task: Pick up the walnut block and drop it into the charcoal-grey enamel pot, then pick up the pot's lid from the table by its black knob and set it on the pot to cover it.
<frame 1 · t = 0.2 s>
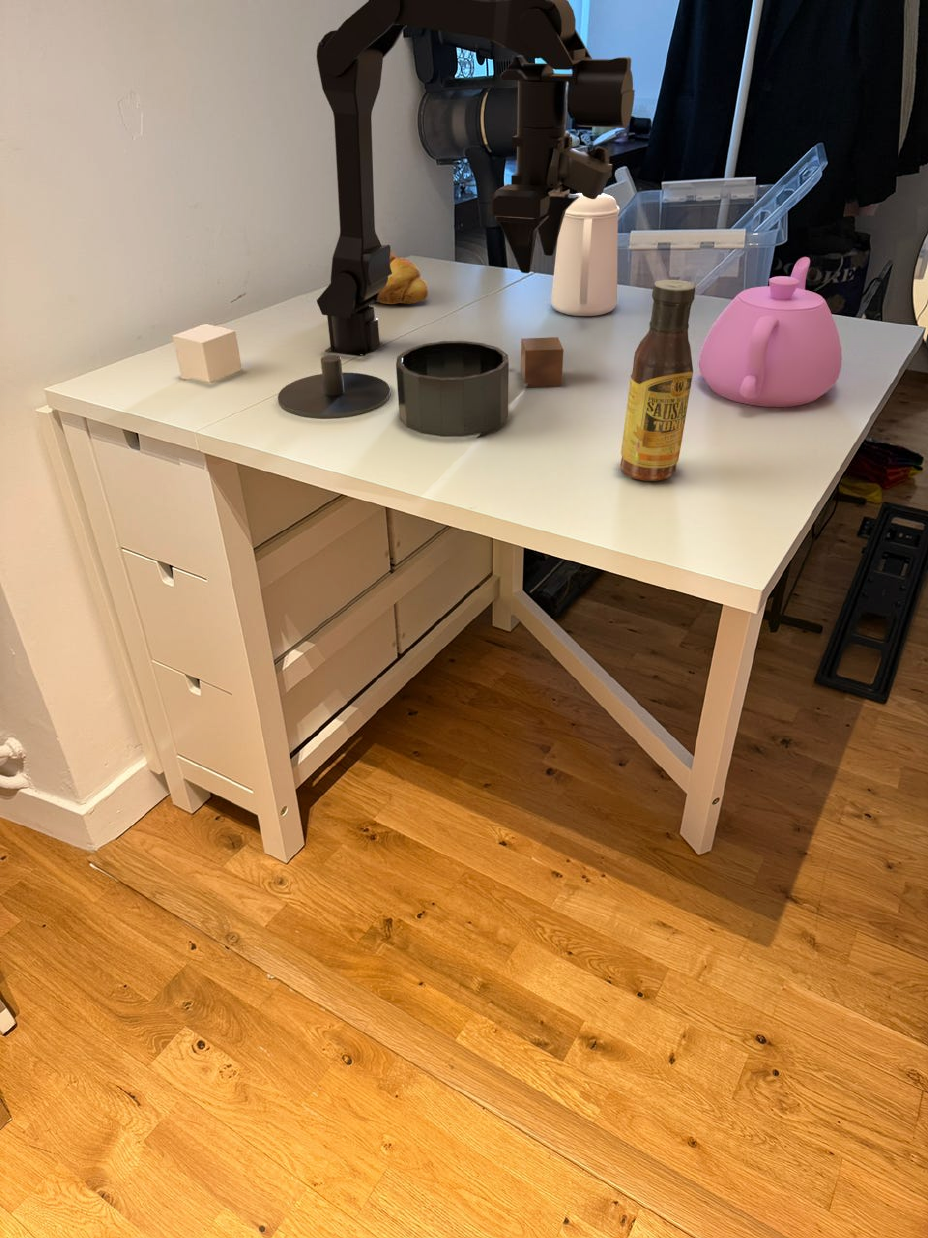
hand: (537, 263, 112), 15 cm above the table, tool pointing down, fingers open, 9 cm apart
pot: (454, 418, 109), on the table
sauce bottle: (648, 472, 96), on the table
teapot: (765, 384, 116), on the table
bread roll: (393, 301, 150), on the table
block: (540, 380, 118), on the table
beige cube: (212, 376, 122), on the table
lid: (334, 395, 114), point 1 cm above the table
coffeepot: (583, 308, 145), on the table
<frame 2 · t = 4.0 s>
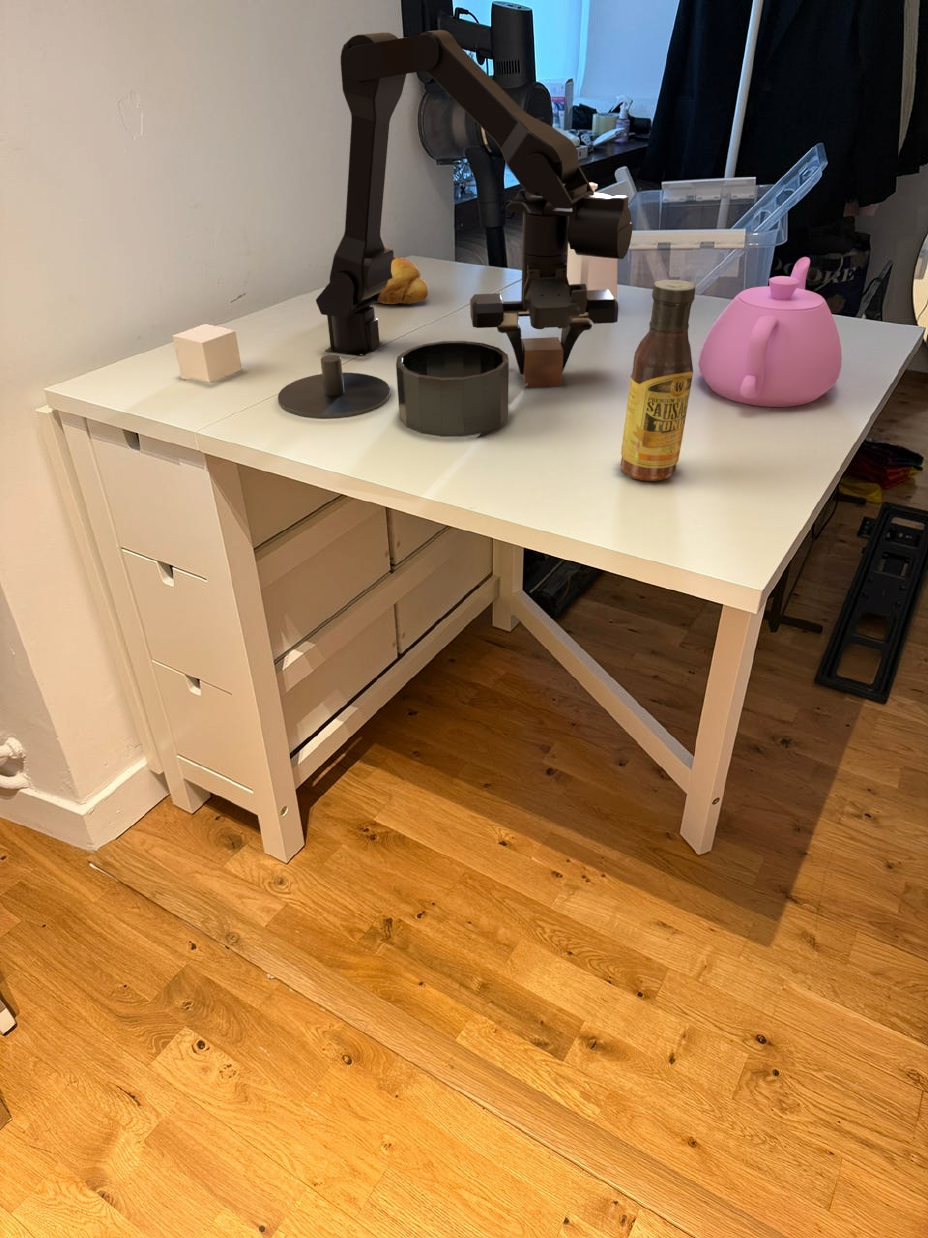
hand: (540, 372, 118), 1 cm above the table, tool pointing down, fingers closed on block, 5 cm apart
block: (540, 380, 118), on the table, touching gripper
everything else where it was.
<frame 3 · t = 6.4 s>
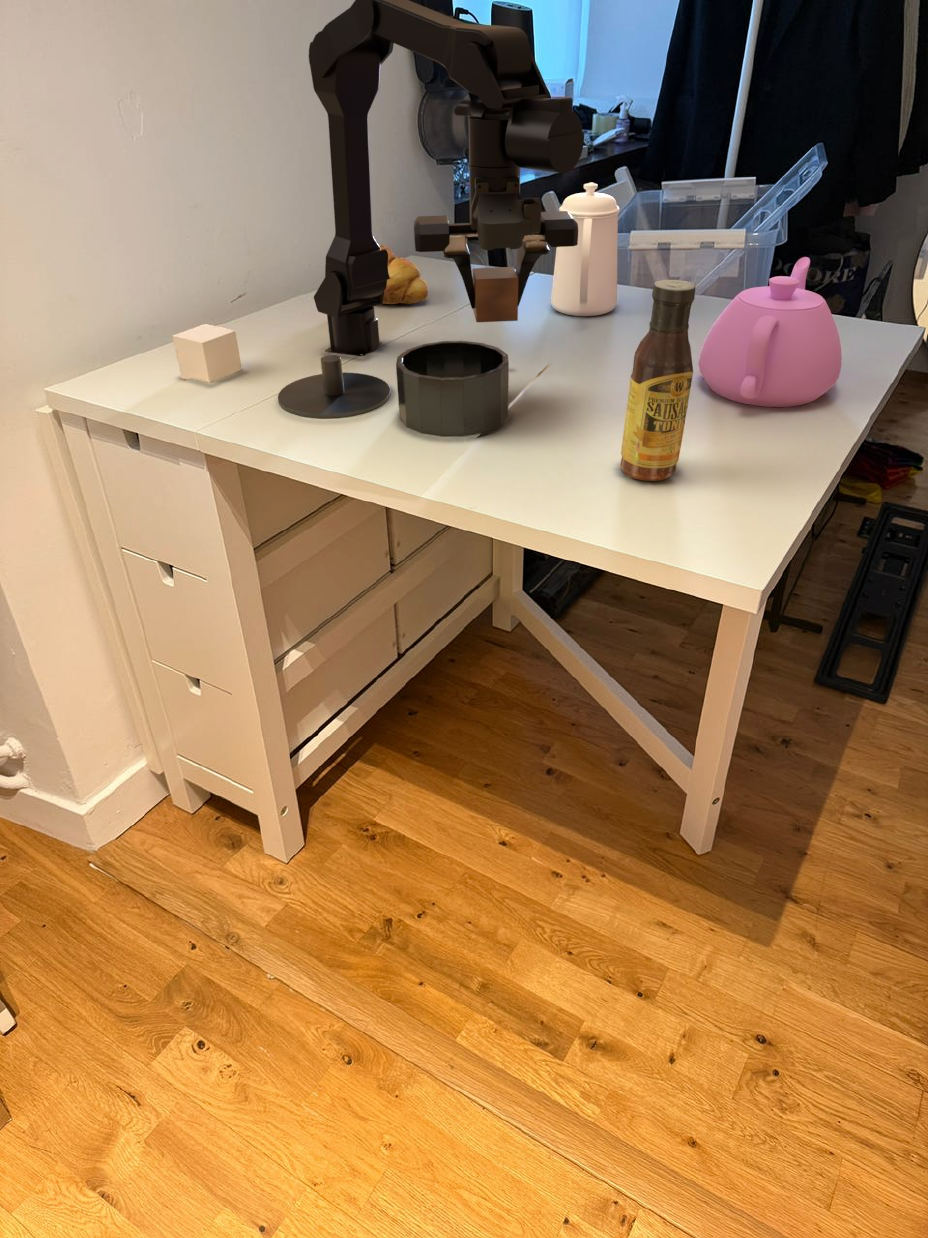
hand: (494, 306, 106), 12 cm above the table, tool pointing down, fingers closed on block, 5 cm apart
block: (494, 315, 106), point 11 cm above the table, touching gripper
everything else where it was.
when the fingers open (5 cm above the table, at t = 9.1 s): block drops 4 cm, resting on pot.
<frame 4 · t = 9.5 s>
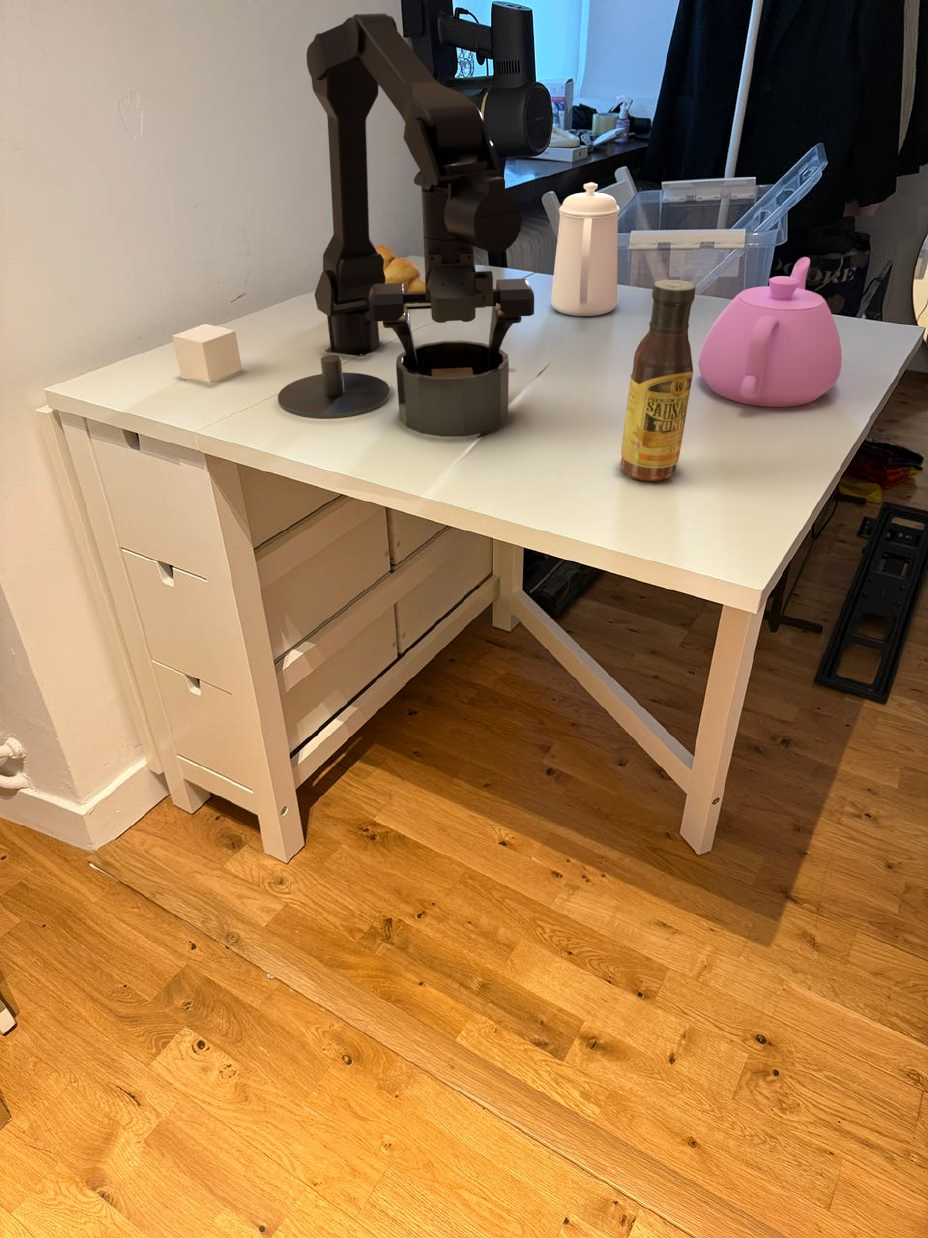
hand: (453, 372, 105), 6 cm above the table, tool pointing down, fingers open, 9 cm apart
block: (453, 414, 108), point 1 cm above the table, touching pot
everything else where it was.
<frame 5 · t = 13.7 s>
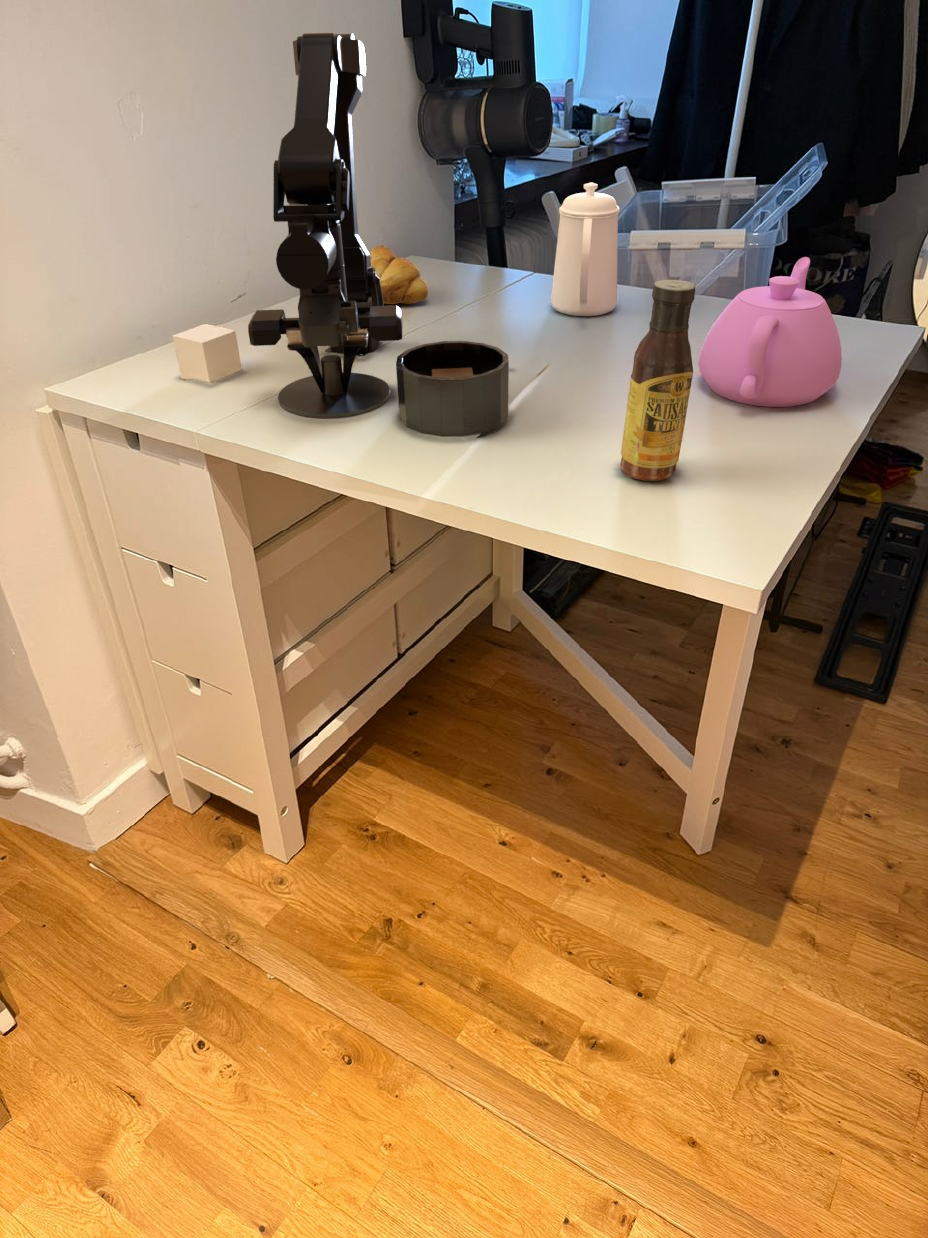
hand: (334, 391, 113), 1 cm above the table, tool pointing down, fingers closed on lid, 3 cm apart
lid: (334, 395, 114), point 1 cm above the table, touching gripper
everything else where it was.
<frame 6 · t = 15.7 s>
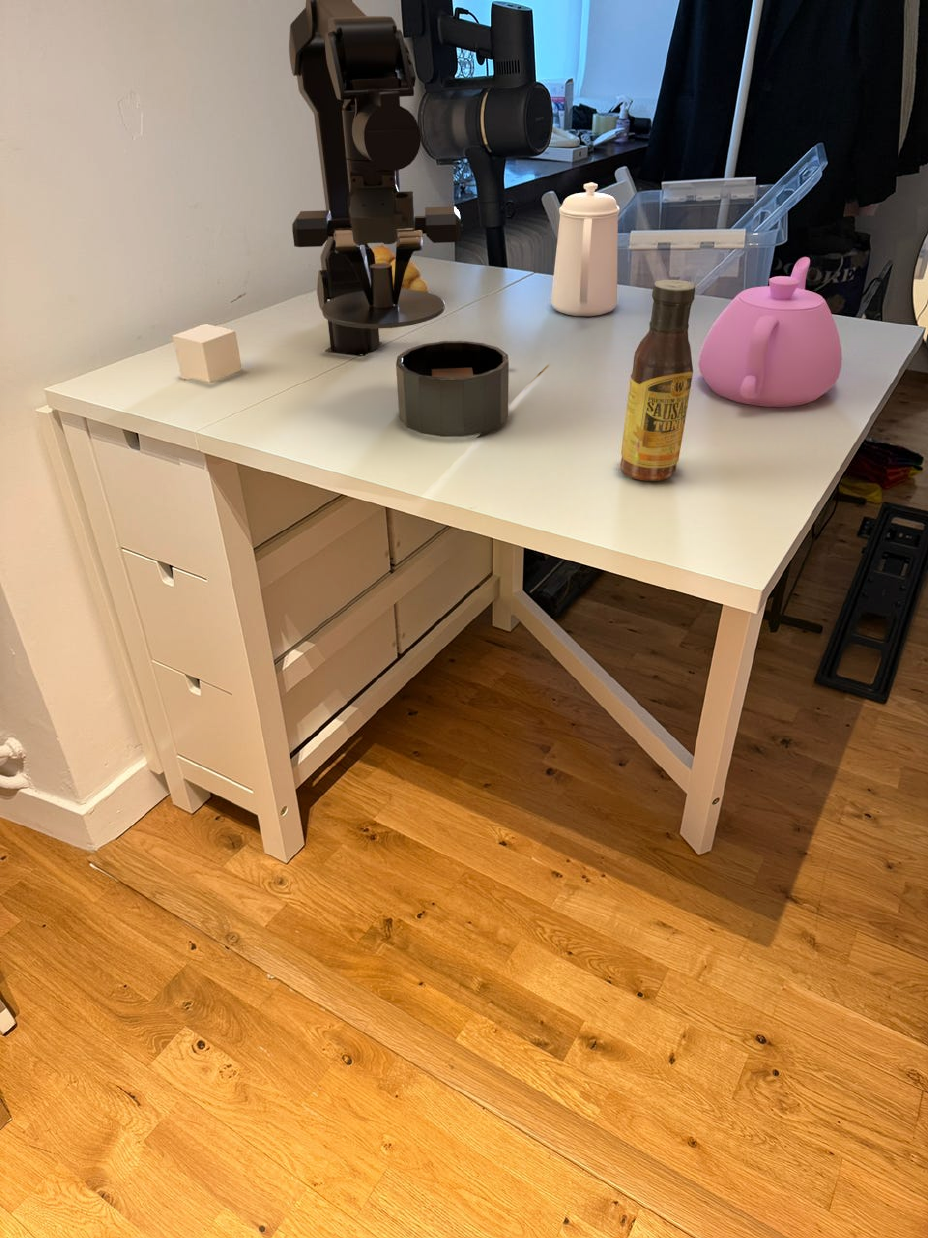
hand: (383, 304, 103), 13 cm above the table, tool pointing down, fingers closed on lid, 3 cm apart
lid: (383, 309, 104), point 13 cm above the table, touching gripper
everything else where it was.
when the fingers open (8 cm above the table, at t = 18.1 s): lid stays where it is, resting on pot.
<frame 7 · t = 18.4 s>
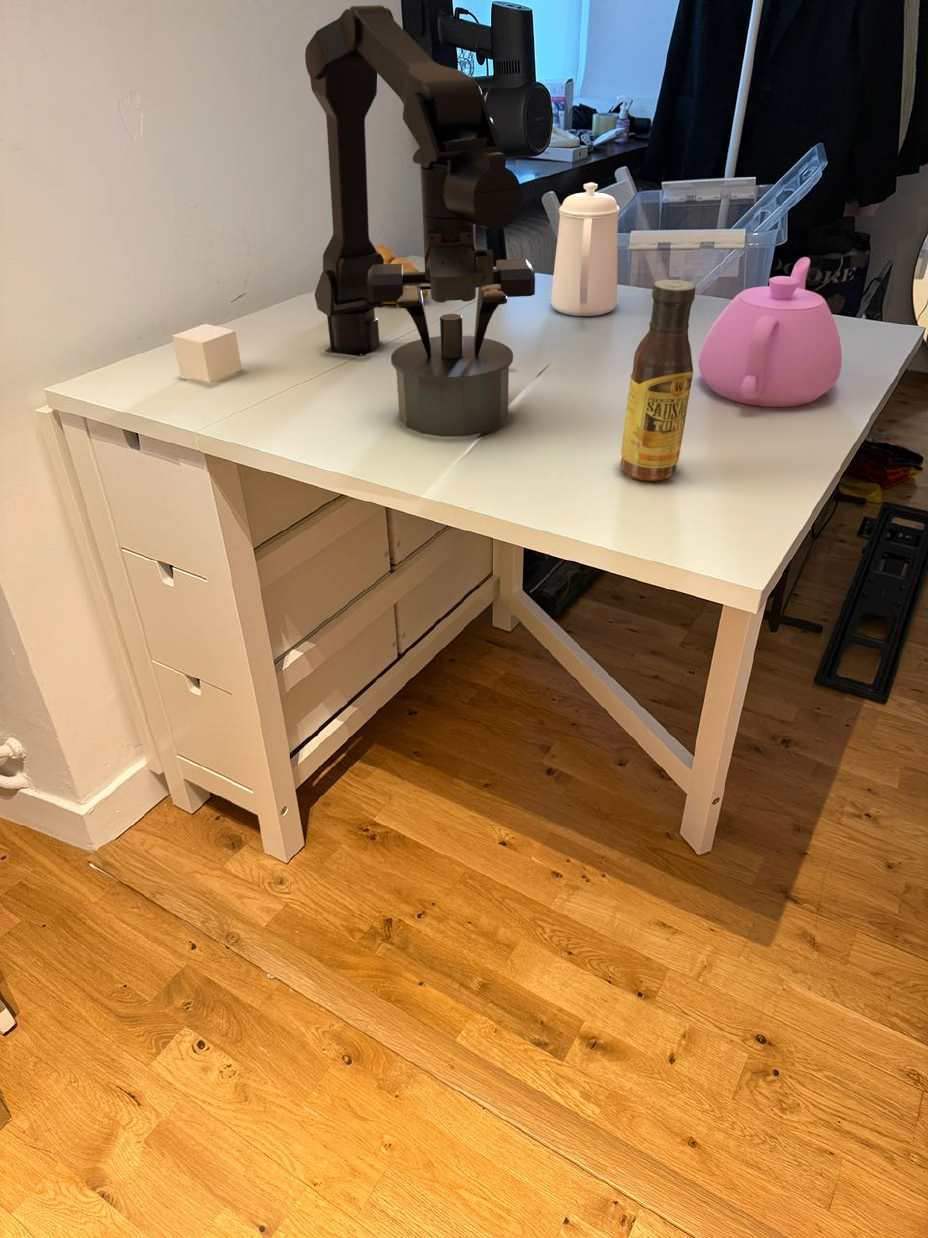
hand: (453, 354, 104), 8 cm above the table, tool pointing down, fingers open, 5 cm apart
lid: (452, 359, 104), point 7 cm above the table, touching gripper, pot
everything else where it was.
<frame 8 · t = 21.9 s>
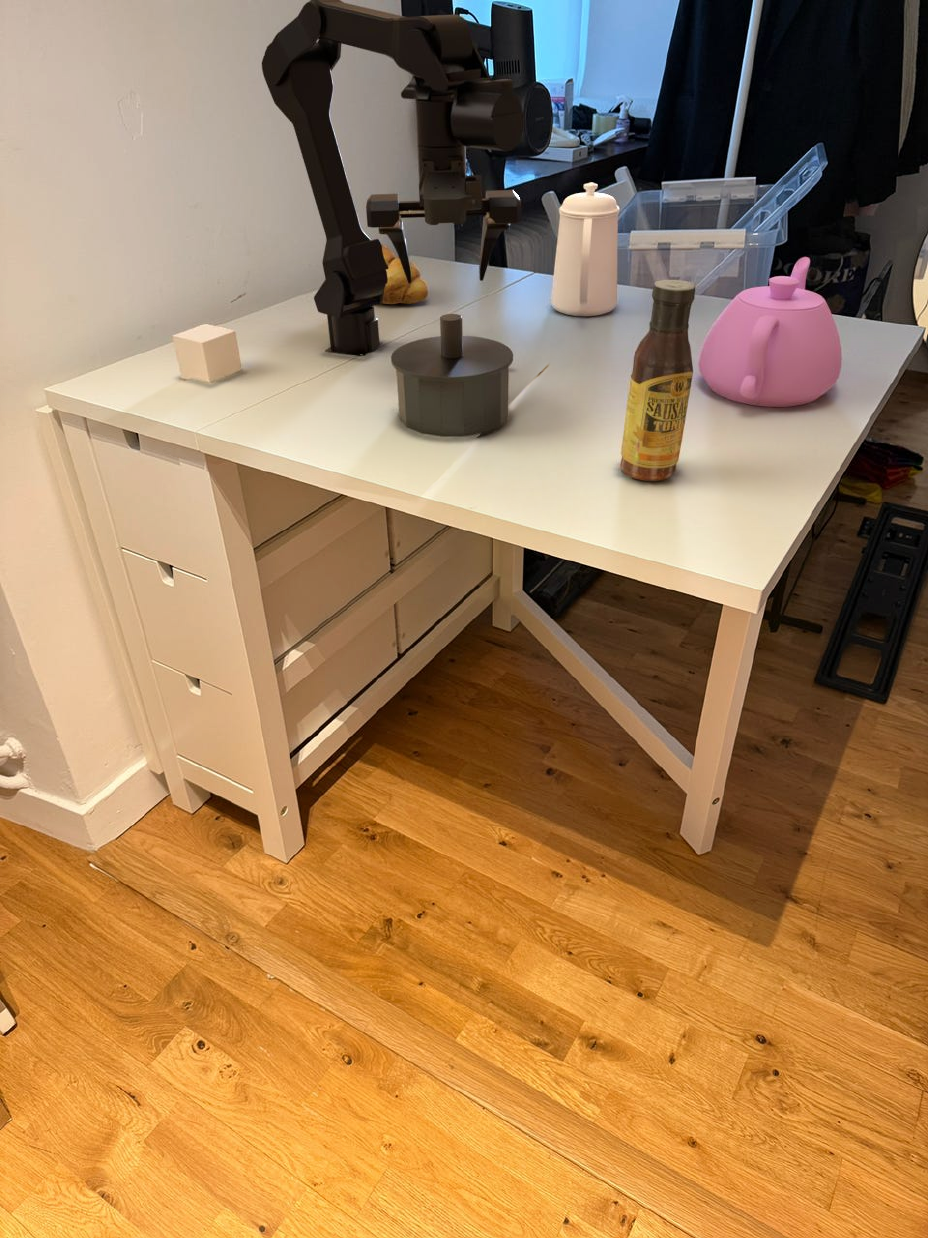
hand: (445, 281, 112), 13 cm above the table, tool pointing down, fingers open, 9 cm apart
lid: (452, 359, 104), point 7 cm above the table, touching pot
everything else where it was.
at the end: block inside the target area in the pot (0.0 cm from its centre), point 0.5 cm above the pot's base; lid 0.0 cm off-centre on the pot, point 7.5 cm above the pot's base; lid tilted 0° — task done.
